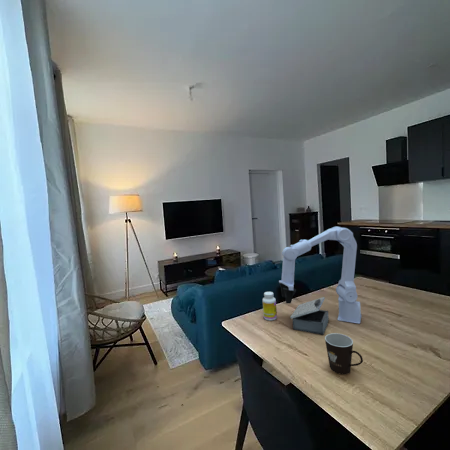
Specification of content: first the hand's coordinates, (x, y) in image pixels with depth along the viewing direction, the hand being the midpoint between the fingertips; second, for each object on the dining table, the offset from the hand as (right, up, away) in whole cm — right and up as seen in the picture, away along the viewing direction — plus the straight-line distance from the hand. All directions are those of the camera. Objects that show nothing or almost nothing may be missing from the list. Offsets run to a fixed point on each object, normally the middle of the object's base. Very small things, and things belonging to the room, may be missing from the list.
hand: (286, 300), depth 119 cm
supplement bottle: (-7, -11, +6) cm, 14 cm away
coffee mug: (+10, -13, -37) cm, 40 cm away
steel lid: (+9, -2, -5) cm, 10 cm away
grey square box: (+10, -10, -5) cm, 15 cm away
